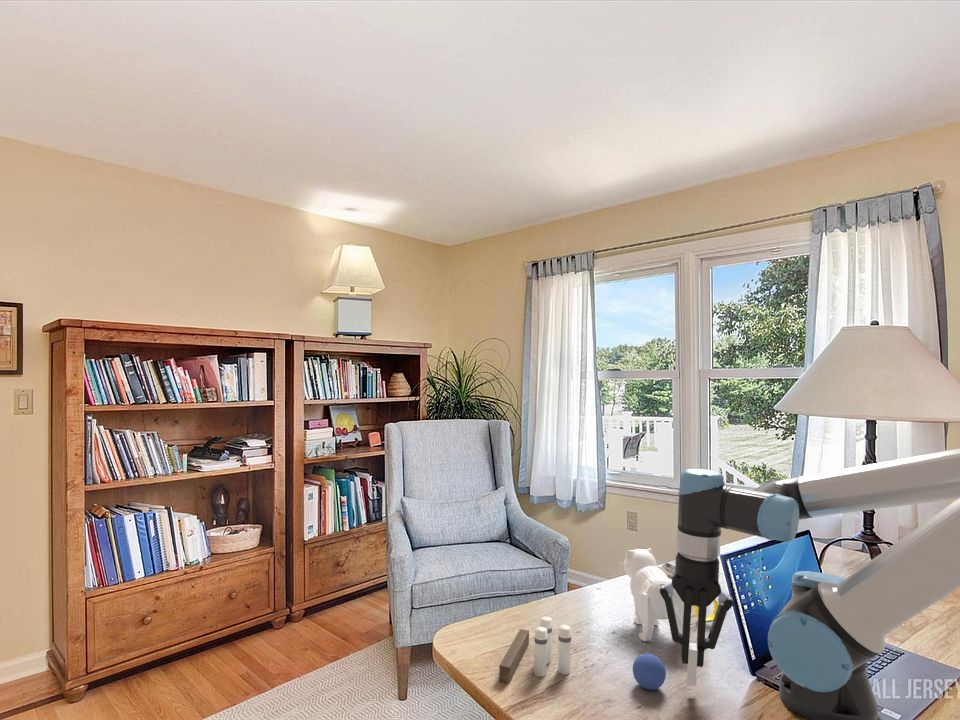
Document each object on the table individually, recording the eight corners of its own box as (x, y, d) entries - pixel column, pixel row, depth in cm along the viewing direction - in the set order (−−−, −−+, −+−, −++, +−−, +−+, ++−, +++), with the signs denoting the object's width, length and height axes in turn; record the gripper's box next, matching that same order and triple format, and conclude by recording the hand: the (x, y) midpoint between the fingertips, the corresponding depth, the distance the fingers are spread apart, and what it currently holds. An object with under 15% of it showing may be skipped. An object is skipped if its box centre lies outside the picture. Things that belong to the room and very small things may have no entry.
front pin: (573, 672, 111) (574, 628, 112) (564, 676, 110) (565, 632, 110) (564, 666, 113) (565, 623, 114) (555, 670, 112) (556, 627, 112)
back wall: (528, 644, 122) (529, 630, 122) (509, 683, 107) (509, 667, 107) (519, 642, 123) (520, 628, 123) (499, 681, 107) (499, 665, 108)
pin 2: (549, 674, 110) (550, 630, 111) (539, 678, 109) (540, 633, 109) (540, 668, 112) (541, 625, 113) (530, 672, 111) (532, 628, 111)
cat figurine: (710, 657, 118) (712, 577, 119) (666, 663, 116) (668, 581, 116) (646, 607, 143) (647, 541, 143) (608, 611, 140) (609, 543, 140)
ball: (672, 689, 106) (672, 657, 106) (652, 700, 102) (653, 667, 103) (645, 675, 111) (646, 644, 111) (625, 685, 107) (626, 653, 107)
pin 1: (553, 661, 115) (554, 619, 115) (544, 665, 114) (546, 623, 114) (545, 656, 117) (546, 615, 117) (536, 660, 116) (537, 618, 116)
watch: (712, 617, 138) (714, 593, 139) (720, 622, 136) (722, 597, 136) (692, 618, 137) (694, 593, 137) (699, 623, 134) (701, 598, 134)
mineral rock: (672, 598, 149) (672, 581, 149) (643, 589, 155) (644, 573, 155) (692, 583, 161) (692, 567, 161) (665, 575, 166) (665, 560, 166)
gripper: (734, 553, 106) (727, 678, 106) (661, 542, 110) (654, 663, 110) (738, 567, 99) (731, 701, 99) (660, 555, 103) (653, 684, 103)
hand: (691, 681), depth 105 cm, fingers closed
